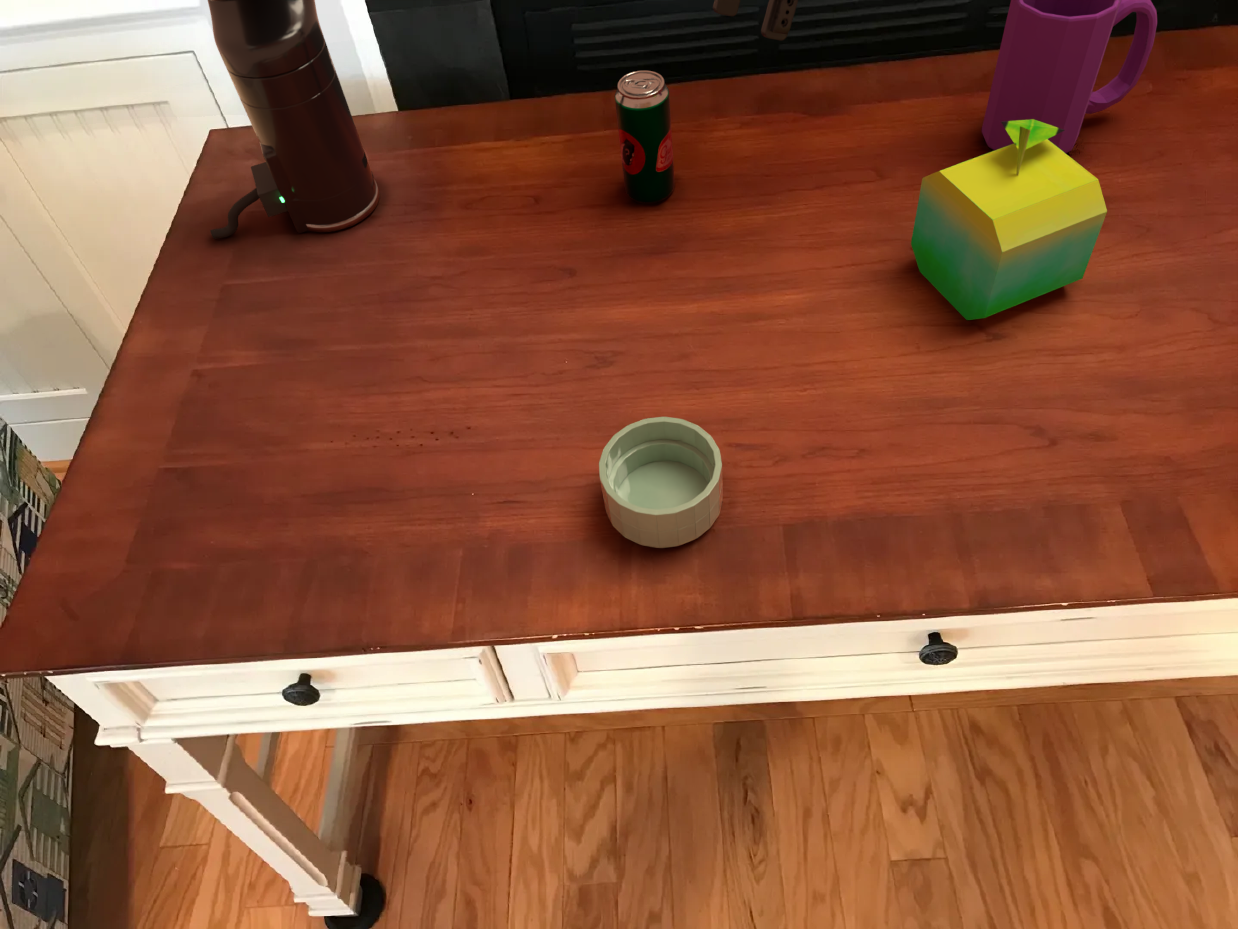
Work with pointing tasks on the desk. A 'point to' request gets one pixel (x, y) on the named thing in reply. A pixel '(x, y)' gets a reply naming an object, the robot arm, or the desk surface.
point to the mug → (1062, 64)
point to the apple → (1007, 223)
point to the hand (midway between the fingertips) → (747, 25)
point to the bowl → (661, 481)
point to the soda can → (645, 136)
